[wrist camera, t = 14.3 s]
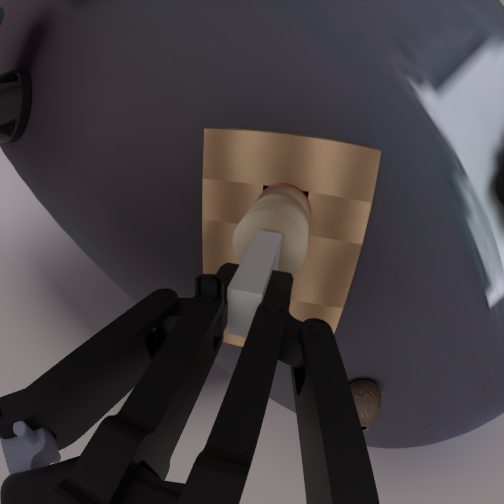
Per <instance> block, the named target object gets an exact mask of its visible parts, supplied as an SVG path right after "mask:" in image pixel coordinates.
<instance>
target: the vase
mask: <svg viewBox="0 0 504 504" xmlns="http://www.w3.org/2000/svg"><path fill="white" fill-rule="evenodd" d="M349 385H350V388H351V391H352V395H353V398H354V402H355V405H356V409H357V412H358V416H359V420H360V423H361V427H362V431H363V432H364V431H366V430H368V429H369V426H370V424H371V423H372V422H373V420H374V419H375V418H376V417H377V415H378V413H379V411H380V408H381V394H380V391H379V389H378V387H377V386H376V385H375V384H374V383H372V382H371V381H368V380H357V381H354V382H352V383H351V384H349Z"/></svg>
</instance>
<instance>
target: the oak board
mask: <svg viewBox="0 0 504 504" xmlns="http://www.w3.org/2000/svg"><path fill="white" fill-rule="evenodd" d="M380 156H381V151H380V150H378V149H375V148H373V147H369V146H364V145H360V144H355V143H350V142H344V141H339V140H333V139H327V138H321V137H315V136H308V135H301V134H293V133H284V132H275V131H265V130H252V129H237V128H208V129H204V152H203V196H202V241H203V274H216V273H217V272H218V270H219V268H220V267H221V266H222V265H224V264H225V263H227V262H228V263H234V264H239V265H240V262H239V261H238V259H237V258H236V256H235V253H234V250H233V235H234V231H235V229H236V227H237V225H238V224H239V223H240V221H241V220H242V219H243V217H244V216H245V215H246V213H247V212H248V211H249V209H250V208H251V207H252V206H253V204H254V203H255V202H256V200H257V199H258V197H259V196H260V194H261V193H262V192H263V191H264V190H265V189H266V188H268V187H269V186H271V185H274V184H279V183H286V184H291V185H293V186H295V187H297V188H299V189H300V190H301V191H308V192H309V193H308V200H309V203H310V207H311V215H310V221H309V232H308V243H307V253H306V257H305V259H304V262H303V263H302V265H301V266H300V267H299V269H297V270H296V271H295V272H294V273H292V276H293V278H294V280H293V286H292V291H291V297H290V300H291V302H290V307H289V312H290V314H291V315H292V316H293V317H294V318H296V319H297V320H299V321H302V322H303V321H305V320H307V319H310V318H318V319H321V320H324V321H326V322H327V323H328V324H329V325H330V326H331V328H332V331H333V334H334V333H335V331H336V328H337V325H338V322H339V319H340V316H341V313H342V310H343V307H344V304H345V301H346V298H347V295H348V292H349V289H350V285H351V282H352V279H353V275H354V272H355V268H356V265H357V261H358V258H359V254H360V250H361V247H362V243H363V239H364V235H365V231H366V226H367V222H368V218H369V213H370V209H371V204H372V200H373V195H374V190H375V184H376V179H377V174H378V168H379V162H380ZM226 329H227V326H226V328H225V330H224V338H223V342H225V343H229V344H233V345H238V346H242V347H243V346H244V343H245V340H246V338H245V337H241V336H236V335H232V334H227V333H226Z"/></svg>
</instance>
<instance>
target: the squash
mask: <svg viewBox="0 0 504 504" xmlns="http://www.w3.org/2000/svg"><path fill="white" fill-rule="evenodd" d="M495 190H496V194H497V197H498V199H499V200H500V202H501V204H502V205H503V206H504V172H502V173H501V174H500V175H499V177H498V179H497V181H496V186H495Z"/></svg>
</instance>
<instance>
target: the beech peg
mask: <svg viewBox="0 0 504 504" xmlns="http://www.w3.org/2000/svg"><path fill="white" fill-rule="evenodd" d="M310 215H311V207H310V203H309V200H308V198H307V196H306V195H305V194H304V193H303V191H301V190H300V189H299V188H297V187H295V186H293V185H291V184H286V183H279V184H274V185H271V186H269V187H268V188H266V189H265V190H264V191H263V192H262V193H261V194H260V196H259V197H258V199H257V200H256V202H255V203H254V204H253V206H252V207H251V208H250V209H249V211H248V212H247V213H246V215H245V216H244V217H243V219H242V220H241V221H240V223H239V224H238V225H237V227H236V229H235V231H234V235H233V250H234V253H235V256H236V258H237V259H238V261H239V262H240V264H241V262H242V260H243V258H244V256H245V254H246V253H247V251H248V249H249V247H250V245H251V243H252V242H253V240H254V238H255V236H256V234H257V232H258V231H259V230H262V231H268V232H275V233H281V234H282V240H281V248H280V256H279V263H278V270H277V271H283V272H288V273H291V274H292V273H294V272H295V271H296V270H297V269H299V267H300V266H301V265H302V263H303V262H304V259H305V257H306V253H307V243H308V232H309V221H310Z"/></svg>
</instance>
